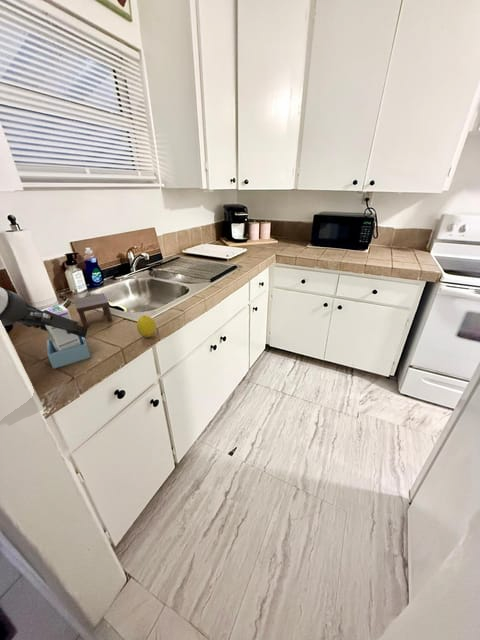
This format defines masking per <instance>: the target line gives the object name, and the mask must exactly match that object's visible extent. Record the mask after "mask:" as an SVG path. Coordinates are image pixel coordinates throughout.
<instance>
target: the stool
mask: <svg viewBox="0 0 480 640" xmlns="http://www.w3.org/2000/svg"><path fill="white" fill-rule="evenodd" d="M73 303H74V305H75V308H76V309H75V310H76V312H77V313H78V316H79V319H80V322H81V324H82V325H81V326H82V327H85V328H88V329H89V324H88V321H87V317H86V314H85V312H88V311H89V312H90V311H93V310H97V309H102V312H103V315H105V316H106V320H107V323H113V321H114V320H113V317H112V313H111V309H110V301H109V300H108V298H107V297H106V295H105V293H104V292H103V293H97V294H92V295H86V296H82V297H77V298H73Z"/></svg>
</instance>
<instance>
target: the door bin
mask: <svg viewBox="0 0 480 640" xmlns="http://www.w3.org/2000/svg"><path fill="white" fill-rule="evenodd" d="M78 337H79V340H80V343H81V345H80V346H76V347H73V348H69V349H65V350H62V351H58V352H56V350H55V348H54V346H53V343H52V341H51V338H49V339H46V349H47V350H46V352H47V357H48V360H49V362H50V365H51V367H52V369H53V370H54V369H58V368H61V367H64V366H67V365H70V364H73V363H77V362H81V361H84V360H87V359H90V358H91V354H90V351H89V348H88V343H87V341H86V337H81V336H78Z"/></svg>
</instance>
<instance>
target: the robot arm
mask: <svg viewBox="0 0 480 640" xmlns="http://www.w3.org/2000/svg"><path fill="white" fill-rule="evenodd" d="M41 310H42V309H37V308H36V307H34V306H31V305H27V302H26V299H25V298H24V297H23V296H22V295H20V294H18V293H16V292H14V291H11V290H9V289H6V288H3V287H1V286H0V320H1V321H2V324H3V325H2V326H11V325H14V324H18V325H23V326H25V327H27V328H32V327H33V328H34V329H39V330H42V331H45V332H48V331H47V329H46V327H45V325H47V326H51V327H55V328H59V329H62V330H66V332H67V334H71V333H72V334H75V335H78V336H81V337H84V338H86V337H87V335H88V330H89V327H88V328H85V327H83V325H80V324H79V321H77V320H73V319H72V320H70V319H67V318H65V317H62V316H59V315H56V314H54V313H51V312H49V311H48V310H44V311H41Z"/></svg>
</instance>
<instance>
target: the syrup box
mask: <svg viewBox="0 0 480 640" xmlns="http://www.w3.org/2000/svg"><path fill="white" fill-rule="evenodd" d="M40 310H41V311H44V310H48V311H49V312H51V313H54V314H56V315H59V316H62V317H65V318H67V319H70V320H73V319H72V316H71V314H70V310H69V309H68V308H66V307H65V305H63V304H55V305H52V306H48V307H46V308H43V309H40ZM45 327H46V329H47V331H46V332H47V333H48V336H49V339H51V341H52V343H53V346H54V348H55V350H56V352H58V351H62V350H65V349H69V348H73V347H76V346H80V345H81V343H80V340H79V337H78V335H75V334H72V333H71V334H67V332H66V330H62V329H59V328H55V327H51V326H47V325H45Z"/></svg>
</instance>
